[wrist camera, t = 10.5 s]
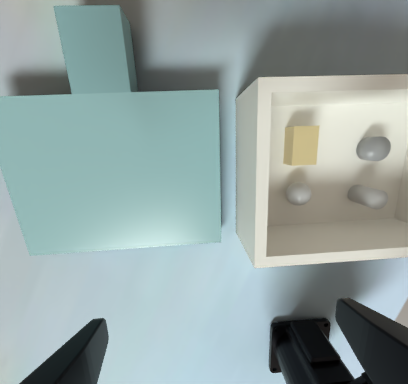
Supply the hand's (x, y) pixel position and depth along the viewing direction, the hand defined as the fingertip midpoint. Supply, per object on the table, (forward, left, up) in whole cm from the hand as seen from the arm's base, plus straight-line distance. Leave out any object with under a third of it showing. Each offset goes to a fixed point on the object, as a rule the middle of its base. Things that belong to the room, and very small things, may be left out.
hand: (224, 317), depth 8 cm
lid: (+7, +7, -12) cm, 16 cm away
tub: (+4, -11, -12) cm, 17 cm away
